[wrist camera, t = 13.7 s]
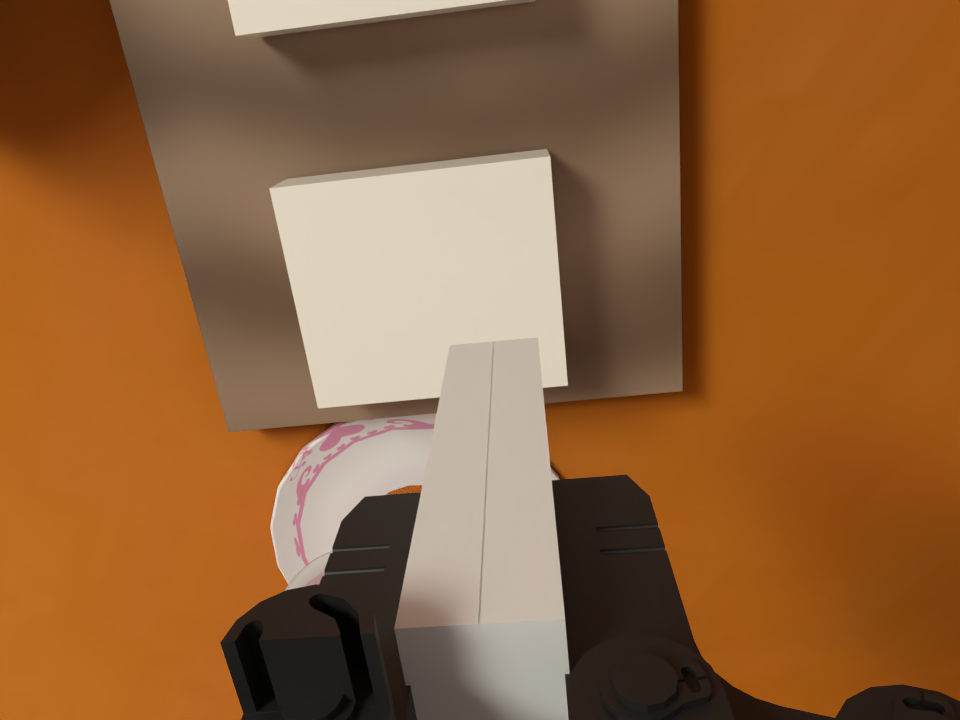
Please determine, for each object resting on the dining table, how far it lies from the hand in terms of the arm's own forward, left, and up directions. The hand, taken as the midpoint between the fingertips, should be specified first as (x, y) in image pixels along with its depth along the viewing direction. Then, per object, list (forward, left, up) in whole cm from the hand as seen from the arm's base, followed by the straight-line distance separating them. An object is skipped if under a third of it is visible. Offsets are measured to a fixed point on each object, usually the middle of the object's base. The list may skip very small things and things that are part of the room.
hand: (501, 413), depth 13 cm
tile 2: (0, +2, -10) cm, 10 cm away
